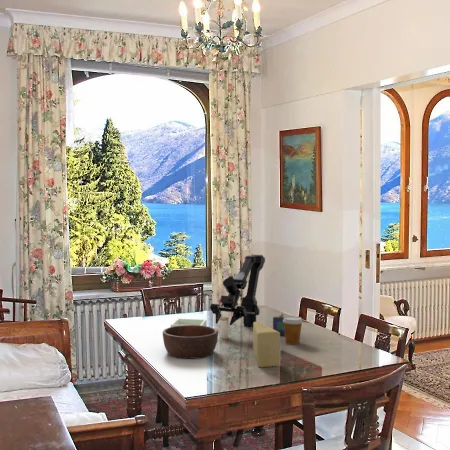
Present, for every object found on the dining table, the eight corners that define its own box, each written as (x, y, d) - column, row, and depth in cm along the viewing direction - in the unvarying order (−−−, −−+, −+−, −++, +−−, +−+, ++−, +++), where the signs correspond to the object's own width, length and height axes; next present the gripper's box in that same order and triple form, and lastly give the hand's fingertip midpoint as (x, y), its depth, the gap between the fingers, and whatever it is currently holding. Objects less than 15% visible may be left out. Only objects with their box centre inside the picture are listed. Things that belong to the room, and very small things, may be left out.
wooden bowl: (175, 363, 267) (175, 339, 267) (154, 350, 289) (154, 328, 289) (227, 356, 279) (227, 333, 278) (203, 344, 301) (203, 322, 300)
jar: (228, 336, 315) (228, 317, 314) (227, 338, 311) (227, 318, 310) (220, 336, 315) (221, 316, 315) (219, 338, 311) (219, 318, 311)
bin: (206, 326, 338) (206, 319, 338) (201, 333, 322) (201, 325, 322) (177, 325, 340) (177, 318, 340) (170, 332, 324) (170, 324, 324)
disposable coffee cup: (305, 341, 306) (305, 317, 305) (298, 346, 297) (299, 320, 296) (286, 339, 310) (286, 315, 309) (279, 343, 301) (280, 319, 300)
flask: (290, 333, 322) (291, 313, 322) (291, 335, 319) (291, 314, 319) (272, 333, 323) (272, 312, 322) (273, 334, 320) (273, 314, 319)
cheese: (244, 354, 282) (244, 321, 282) (265, 353, 285) (265, 320, 284) (258, 368, 261) (258, 332, 260) (280, 366, 263) (280, 331, 262)
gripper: (211, 287, 319) (201, 313, 310) (244, 290, 311) (235, 316, 302) (218, 300, 327) (208, 325, 318) (251, 303, 319) (242, 329, 309)
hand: (223, 324), depth 312 cm, fingers open, 7 cm apart
